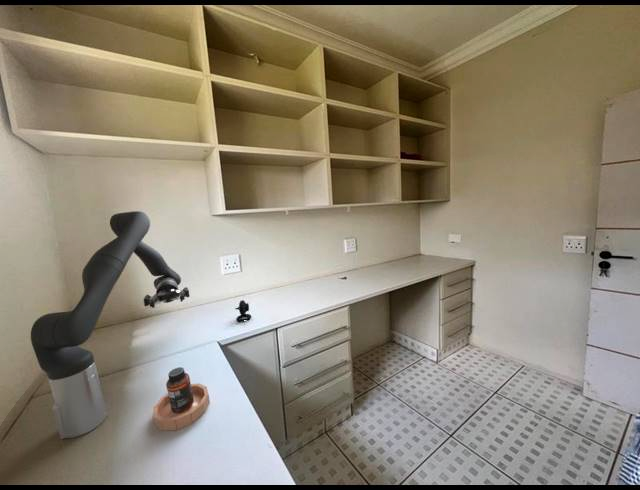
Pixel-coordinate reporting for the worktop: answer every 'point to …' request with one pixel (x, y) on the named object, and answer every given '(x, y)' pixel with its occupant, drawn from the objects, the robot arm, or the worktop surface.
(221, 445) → the worktop surface
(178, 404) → the supplement bottle
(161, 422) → the bowl
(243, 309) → the webcam
